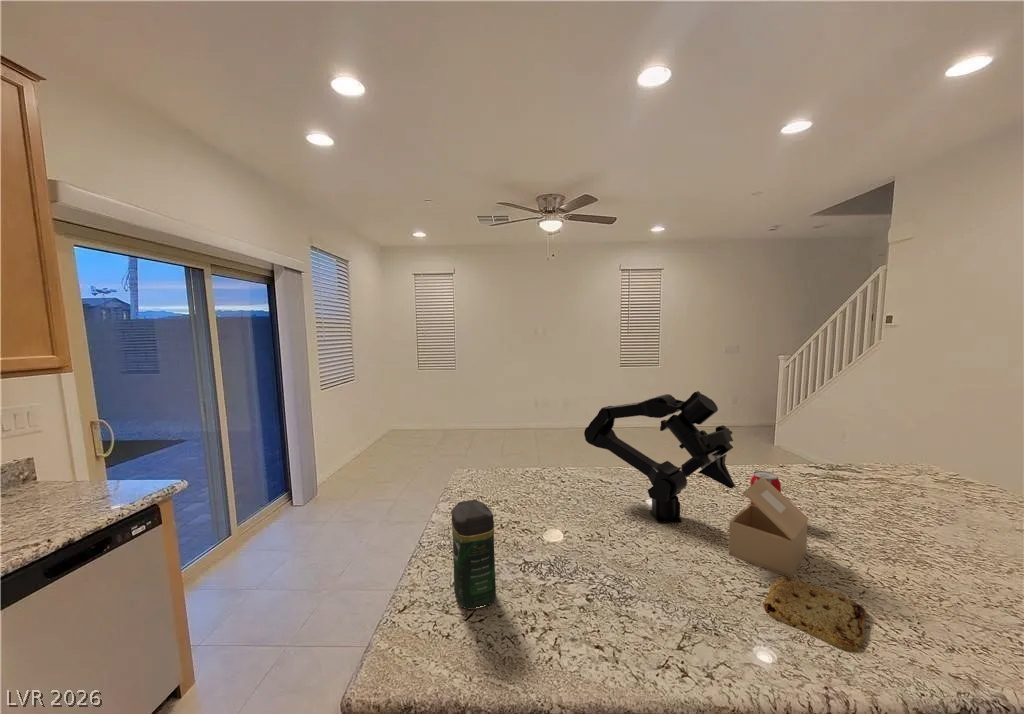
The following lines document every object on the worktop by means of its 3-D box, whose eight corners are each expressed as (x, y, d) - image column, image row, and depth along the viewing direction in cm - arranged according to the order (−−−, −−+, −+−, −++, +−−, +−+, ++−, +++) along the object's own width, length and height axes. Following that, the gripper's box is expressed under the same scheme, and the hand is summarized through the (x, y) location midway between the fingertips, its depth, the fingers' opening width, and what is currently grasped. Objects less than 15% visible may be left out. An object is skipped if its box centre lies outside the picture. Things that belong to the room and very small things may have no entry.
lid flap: (742, 492, 88) (744, 490, 88) (760, 477, 97) (762, 476, 96) (791, 540, 82) (794, 538, 81) (807, 520, 90) (809, 518, 90)
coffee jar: (501, 604, 77) (498, 512, 75) (462, 616, 74) (458, 520, 73) (486, 576, 86) (483, 493, 84) (450, 585, 83) (447, 500, 82)
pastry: (740, 585, 81) (741, 571, 81) (827, 584, 80) (827, 570, 80) (799, 654, 64) (799, 636, 64) (909, 654, 63) (910, 637, 63)
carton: (729, 554, 91) (729, 521, 91) (748, 534, 100) (749, 503, 99) (790, 577, 82) (791, 541, 82) (806, 553, 91) (807, 520, 90)
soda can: (785, 524, 104) (786, 480, 103) (756, 522, 106) (756, 478, 105) (773, 511, 111) (774, 470, 110) (745, 510, 112) (746, 469, 112)
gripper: (694, 423, 92) (745, 481, 85) (725, 410, 105) (772, 460, 97) (662, 449, 99) (707, 505, 91) (695, 434, 111) (737, 483, 104)
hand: (733, 487), depth 96 cm, fingers closed
